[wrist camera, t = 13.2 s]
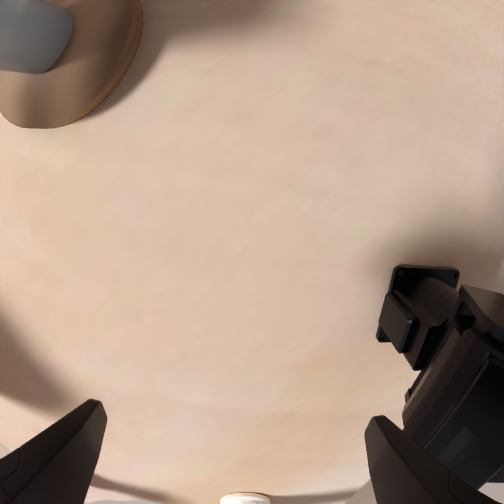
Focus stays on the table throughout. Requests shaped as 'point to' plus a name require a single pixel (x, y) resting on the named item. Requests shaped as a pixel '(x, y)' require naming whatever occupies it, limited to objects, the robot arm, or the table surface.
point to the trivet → (76, 66)
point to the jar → (32, 35)
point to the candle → (245, 499)
